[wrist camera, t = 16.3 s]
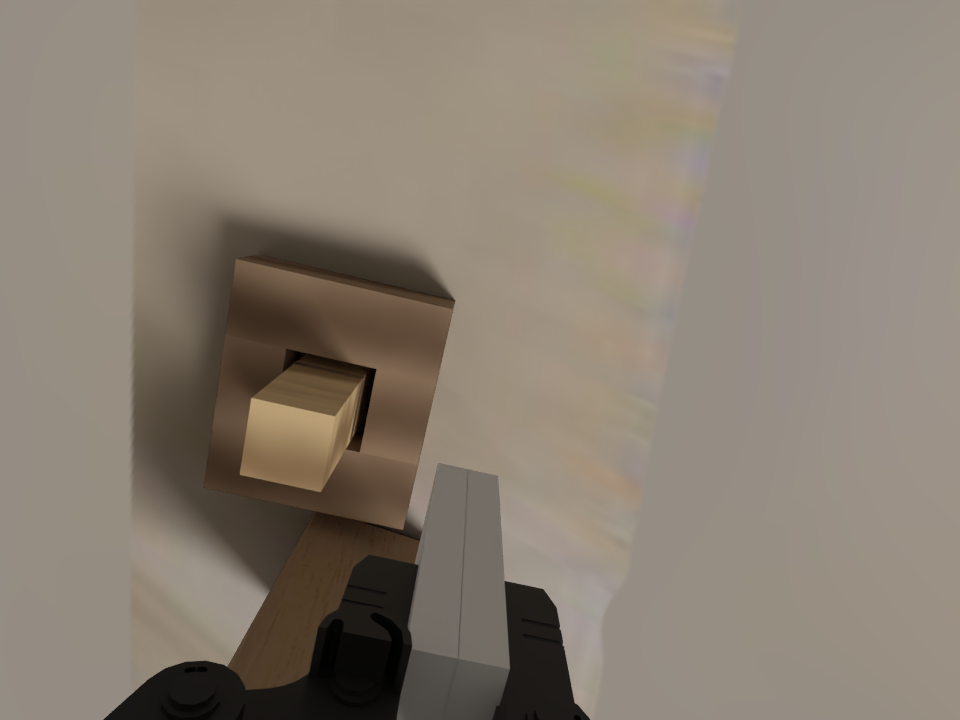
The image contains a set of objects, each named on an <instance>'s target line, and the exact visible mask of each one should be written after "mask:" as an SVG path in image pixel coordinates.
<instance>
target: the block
mask: <svg viewBox="0 0 960 720" xmlns="http://www.w3.org/2000/svg"><path fill="white" fill-rule="evenodd" d="M419 543H420V541H419V540H416V539H413V538H410V537H407V536H404V535H401V534H398V533H395V532H392V531H389V530H386V529H382V528H379V527H376V526H373V525H370V524H367V523H364V522H361V521H358V520H354V519H349V518H345V517H340V516H335V515H331V514H326V513H321V512H316V513H315V515H314V516H313V517H312V518H311V519H310V520H309V522H308V524H307V526H306V528H305V529H304V531H303V533H302V535H301V537H300V538H299V540H298V542H297V544H296V545H295V547H294V549H293V551H292V553H291V554H290V556H289V558H288V560H287V562H286V563H285V565H284V567H283V569H282V570H281V572H280V574H279V576H278V578H277V579H276V581H275V583H274V585H273V587H272V588H271V590H270V592H269V594H268V595H267V597H266V599H265V601H264V603H263V604H262V606H261V608H260V610H259V611H258V613H257V615H256V617H255V619H254V620H253V622H252V624H251V626H250V628H249V629H248V631H247V633H246V635H245V636H244V638H243V640H242V642H241V644H240V645H239V647H238V649H237V651H236V653H235V654H234V656H233V658H232V660H231V661H230V663H229V665H228V668H229V669H231V670H233V671H234V672H236V673H237V674H238V675H239V677H240V678H241V680H242V682H243V684H244V685H245V690H251V689H265V688H273V687H279V686H284V685H287V684H289V683H292V682H295V681H297V680H299V679H300V678H302V677H304V676H305V675H307V674H308V673H309V671H310V666H311V661H312V655H313V650H314V645H315V640H316V635H317V630H318V626H319V625H320V624H321V622H322V621H323V619H324V618H325V617H326V616H327V615H328V614H330V613H332V612H334V611H336V610H337V609H338V608H339V605H340V603H341V601H342V597H343V594H344V592H345V589H346V587H347V583H348V581H349V578H350V575H351V572H352V570H353V567H354V566H355V565H357V564H358V563H359V562H360V561H362V560H363V559H364V558H365V557H367V556H368V555H374V556H379V557H383V558H388V559H393V560H398V561H402V562H407V563H412V564H415V560H416V556H417V551H418V547H419Z"/></svg>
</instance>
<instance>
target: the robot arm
mask: <svg viewBox="0 0 960 720" xmlns="http://www.w3.org/2000/svg"><path fill="white" fill-rule="evenodd" d="M562 644H563V640H562V634H561V630H560V624H559V619H558V613H557V608H556V606H555V605H554V603H553V602H552V601H551V599H550V598H549V596H548V595H547V594H546V592H545V591H544V590H543V589H540V588H535V587H530V586H526V585H521V584H516V583H511V582H507V581H504V565H503V549H502V532H501V516H500V500H499V484H498V476H496V475H491V474H487V473H482V472H477V471H473V470H468V469H464V468H459V467H455V466H450V465H445V464H441V463H438V466H437V470H436V474H435V479H434V483H433V487H432V492H431V496H430V500H429V504H428V509H427V513H426V517H425V522H424V526H423V530H422V534H421V539H420V543H419V547H418V551H417V556H416V560H415V564H412V563H407V562H402V561H398V560H393V559H388V558H383V557H379V556H374V555H368V556H367V557H365V558H364V559H363V560H362V561H360V562H359V563H358V564H357V565H355V566H354V567H353V570H352V572H351V575H350V578H349V581H348V583H347V587H346V589H345V592H344V594H343V597H342V601H341V603H340V605H339V608H338V609H337V610H336V611H334V612H332V613H330V614H328V615H327V616H326V617H325V618H324V619H323V621H322V622H321V624H320V625H319V626H318V630H317V635H316V640H315V645H314V650H313V655H312V661H311V666H310V671H309V673H308V674H307V675H305V676H304V677H302V678H300V679H299V680H297V681H295V682H292V683H289V684H287V685H284V686H279V687H273V688H265V689H251V690H245V685H244V684H243V682H242V680H241V678H240V677H239V675H238V674H237V673H236V672H234V671H233V670H231V669H229V668H228V667H226V666H225V665H222V664H217V663H213V662H209V661H194V662H184V663H181V664H177V665H174V666H171V667H168V668H165V669H164V670H162V671H160V672H159V673H157V674H156V675H154V676H153V677H151V678H150V679H148V680H147V681H146V682H145V683H144V684H143V685H141V686H140V687H139V688H138V689H137V690H136V691H135V692H134V693H133V694H132V695H130V696H129V697H128V698H127V699H126V700H125V701H124V702H123V703H121V705H119V706H118V707H117V708H116V709H115V710H114V711H112V713H110V714H109V715H108V716H107V717H106V718H105V719H104V720H590V719H589V717H588V716H587V715H586V714H585V713H584V712H583V711H582V709H581V708H580V707H579V706H578V705H577V704H575V703H574V698H573V693H572V687H571V682H570V677H569V671H568V666H567V661H566V656H565V650H564V646H562Z"/></svg>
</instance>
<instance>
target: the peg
mask: <svg viewBox="0 0 960 720" xmlns="http://www.w3.org/2000/svg"><path fill="white" fill-rule="evenodd" d="M372 369H373V368H370V367H365V366H361V365H357V364H352V363H348V362H343V361H339V360H334V359H330V358H326V357H321V356H317V355H312V354H308V353H307V354H305V355H304V356H303V357H302V358H300V359H299V360H298V361H297V362H296V361H295V362H294V363H293V365H292V366H290V367H289V368H288V369H287V370H286V371H284V372H283V373H282V374H281V375H279V376H278V377H277V378H276V379H274V380H273V381H272V382H271V383H269V384H268V385H267V386H266V387H264V388H263V389H262V390H261V391H259V392H258V393H257V394H256V395H254V396H253V397H252V398H251V404H250V410H249V417H248V423H247V430H246V436H245V443H244V449H243V456H242V462H241V469H240V475H243V476H248V477H252V478H257V479H262V480H266V481H271V482H276V483H280V484H285V485H290V486H294V487H299V488H304V489H308V490H313V491H318V492H321V491H322V489H323V488H324V486H325V484H326V482H327V481H328V479H329V477H330V475H331V474H332V472H333V470H334V469H335V467H336V465H337V463H338V462H339V460H340V458H341V456H342V455H343V453H344V451H345V449H346V448H347V446H348V444H349V443H351V441H352V437H353V436H354V434H355V432H356V430H357V429H358V427H359V425H360V423H361V422H362V419H363V414H364V409H365V404H366V399H367V394H368V389H369V384H370V379H371V374H372Z"/></svg>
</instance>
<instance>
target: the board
mask: <svg viewBox="0 0 960 720" xmlns="http://www.w3.org/2000/svg"><path fill="white" fill-rule="evenodd" d="M454 304H455V300H450V299H446V298H442V297H437V296H433V295H429V294H425V293H420V292H416V291H412V290H407V289H403V288H399V287H395V286H390V285H386V284H382V283H377V282H373V281H369V280H364V279H360V278H356V277H352V276H347V275H343V274H339V273H334V272H330V271H326V270H321V269H317V268H313V267H309V266H304V265H300V264H296V263H291V262H287V261H283V260H278V259H274V258H270V257H266V256H261V255H254V256H249V257H244V258H238V259H236V261H235V268H234V276H233V283H232V290H231V297H230V304H229V311H228V318H227V325H226V333H225V340H224V347H223V354H222V361H221V368H220V375H219V382H218V390H217V397H216V404H215V411H214V418H213V425H212V432H211V439H210V447H209V454H208V461H207V468H206V475H205V482H204V488H208V489H213V490H218V491H222V492H227V493H232V494H237V495H241V496H246V497H251V498H255V499H260V500H265V501H269V502H274V503H279V504H284V505H288V506H293V507H298V508H302V509H307V510H312V511H316V512H321V513H326V514H331V515H335V516H340V517H345V518H349V519H354V520H359V521H364V522H368V523H373V524H378V525H382V526H387V527H392V528H396V529H401V530H403V527H404V523H405V519H406V515H407V511H408V507H409V503H410V499H411V494H412V490H413V485H414V481H415V477H416V472H417V468H418V463H419V459H420V454H421V450H422V446H423V441H424V437H425V432H426V428H427V423H428V419H429V415H430V410H431V406H432V401H433V397H434V393H435V388H436V384H437V379H438V375H439V370H440V366H441V362H442V357H443V353H444V348H445V344H446V339H447V335H448V331H449V326H450V322H451V317H452V313H453V308H454ZM301 352H303V353H308V354H312V355H317V356H321V357H326V358H330V359H334V360H339V361H343V362H348V363H352V364H357V365H361V366H365V367H370V368H374V369H377V370H376V375H375V380H374V384H373V389H372V394H371V399H370V404H369V409H368V414H367V419H366V424H365V429H364V431H363V430H359V429H357V430H356V432H355V434H354V436H353V437H352V441H351V443H349V444H348V446H347V448H346V449H345V451H344V453H343V455H342V456H341V458H340V460H339V462H338V463H337V465H336V467H335V469H334V470H333V472H332V474H331V475H330V477H329V479H328V481H327V482H326V484H325V486H324V488H323V489H322V491H321V492H318V491H313V490H308V489H304V488H299V487H294V486H290V485H285V484H280V483H276V482H271V481H266V480H262V479H257V478H252V477H248V476H243V475H240V469H241V462H242V456H243V449H244V443H245V436H246V430H247V423H248V417H249V410H250V404H251V398H252V397H253V396H254V395H256V394H257V393H258V392H259V391H261V390H262V389H263V388H264V387H266V386H267V385H268V384H269V383H271V382H272V381H273V380H274V379H276V378H277V377H278V376H279V375H281V374H282V373H283V372H284V371H286V370H287V369H288V368H289V367H290V366H292V365H293V363H294V362H295V361H296V362H297V361H298V360H299V359H300V354H301Z"/></svg>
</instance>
